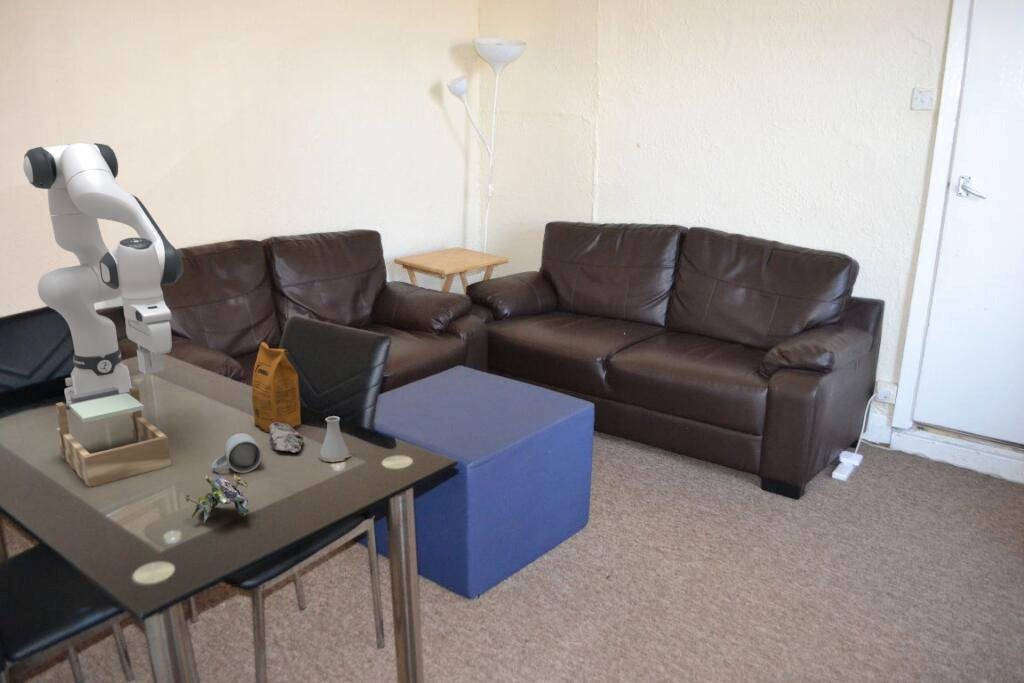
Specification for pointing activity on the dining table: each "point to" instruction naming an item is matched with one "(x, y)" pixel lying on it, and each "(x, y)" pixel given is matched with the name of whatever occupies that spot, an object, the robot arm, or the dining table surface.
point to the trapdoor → (103, 404)
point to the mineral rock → (284, 437)
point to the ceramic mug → (239, 454)
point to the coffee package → (275, 389)
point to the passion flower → (222, 496)
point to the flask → (333, 441)
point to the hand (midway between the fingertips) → (151, 364)
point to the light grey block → (148, 362)
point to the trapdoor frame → (115, 451)
